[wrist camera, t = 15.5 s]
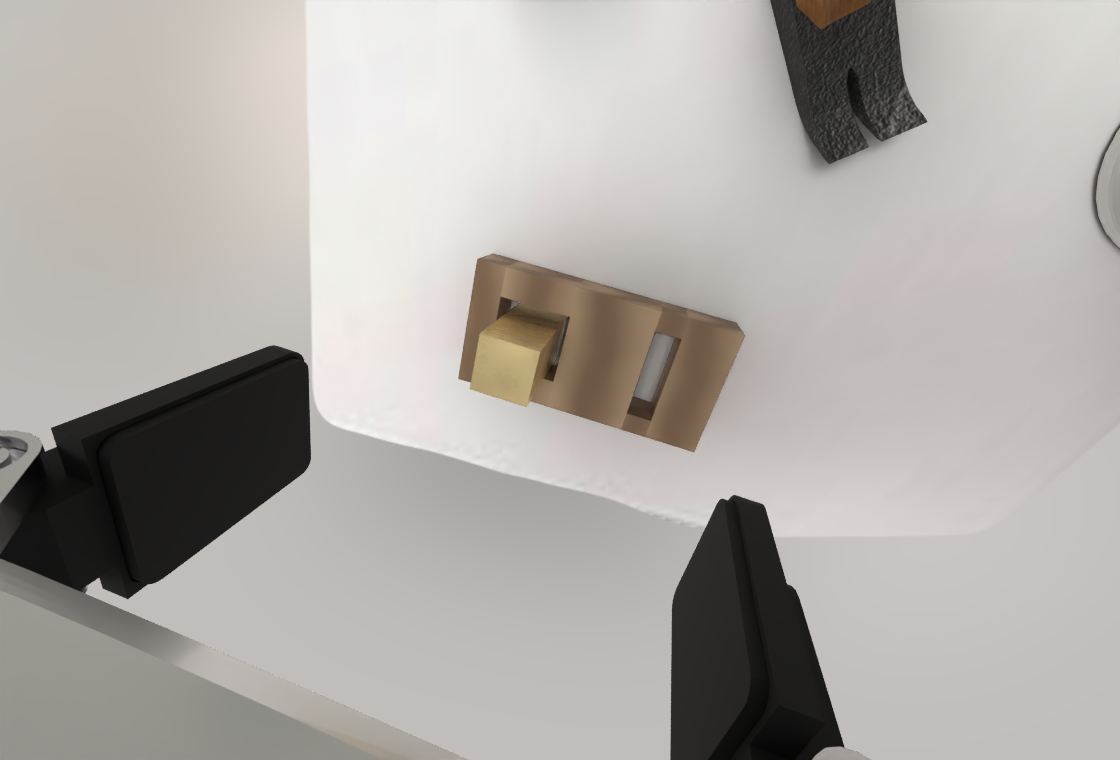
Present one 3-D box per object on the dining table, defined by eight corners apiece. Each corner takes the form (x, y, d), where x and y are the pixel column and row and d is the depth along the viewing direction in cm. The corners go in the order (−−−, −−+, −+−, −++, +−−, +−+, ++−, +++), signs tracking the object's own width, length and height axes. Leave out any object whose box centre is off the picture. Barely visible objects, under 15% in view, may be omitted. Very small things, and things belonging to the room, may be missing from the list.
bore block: (736, 323, 34) (744, 335, 31) (690, 431, 38) (694, 452, 35) (493, 253, 36) (477, 258, 33) (473, 364, 40) (458, 378, 37)
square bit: (568, 314, 37) (540, 352, 28) (556, 357, 38) (526, 407, 29) (522, 300, 37) (479, 333, 28) (513, 344, 39) (469, 388, 30)
